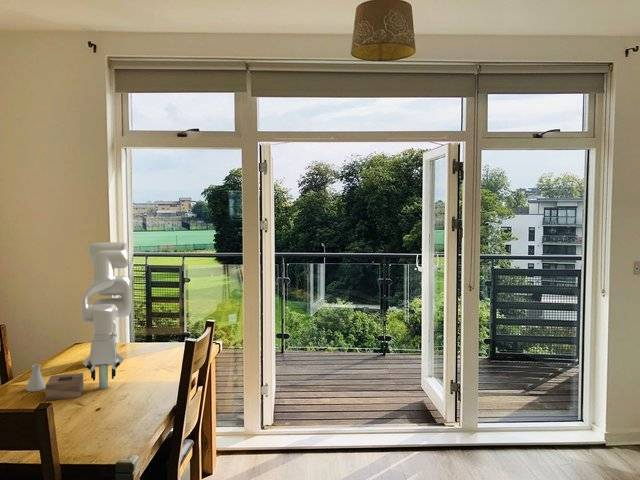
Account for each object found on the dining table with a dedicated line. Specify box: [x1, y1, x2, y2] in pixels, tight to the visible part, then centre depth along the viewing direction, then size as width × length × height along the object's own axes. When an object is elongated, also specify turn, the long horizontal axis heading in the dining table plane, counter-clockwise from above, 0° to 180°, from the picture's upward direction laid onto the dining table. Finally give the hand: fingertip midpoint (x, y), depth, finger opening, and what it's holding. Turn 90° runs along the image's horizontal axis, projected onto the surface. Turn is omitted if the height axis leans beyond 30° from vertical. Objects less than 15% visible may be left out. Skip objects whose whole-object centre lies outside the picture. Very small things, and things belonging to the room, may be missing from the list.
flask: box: [25, 363, 47, 393], centre depth 201 cm, size 7×7×10 cm
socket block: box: [45, 372, 84, 401], centre depth 197 cm, size 12×12×6 cm
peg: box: [98, 364, 109, 390], centre depth 204 cm, size 3×3×10 cm
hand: (103, 378), depth 204 cm, fingers open, 6 cm apart
